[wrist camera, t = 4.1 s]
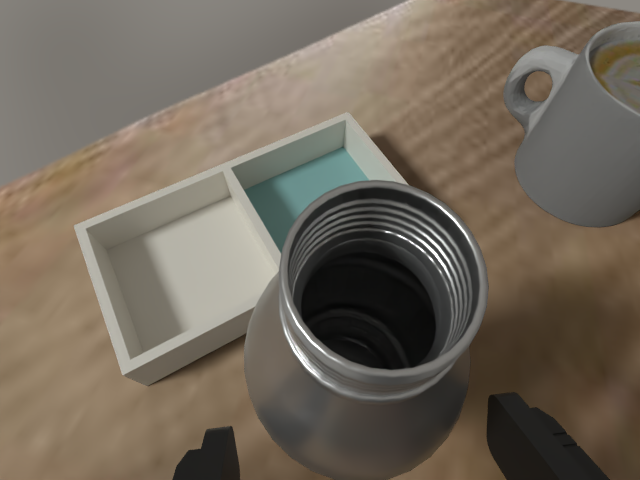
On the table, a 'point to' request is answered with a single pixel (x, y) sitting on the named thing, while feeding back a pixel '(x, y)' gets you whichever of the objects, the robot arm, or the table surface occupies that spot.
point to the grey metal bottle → (367, 331)
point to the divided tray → (212, 245)
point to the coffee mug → (582, 128)
